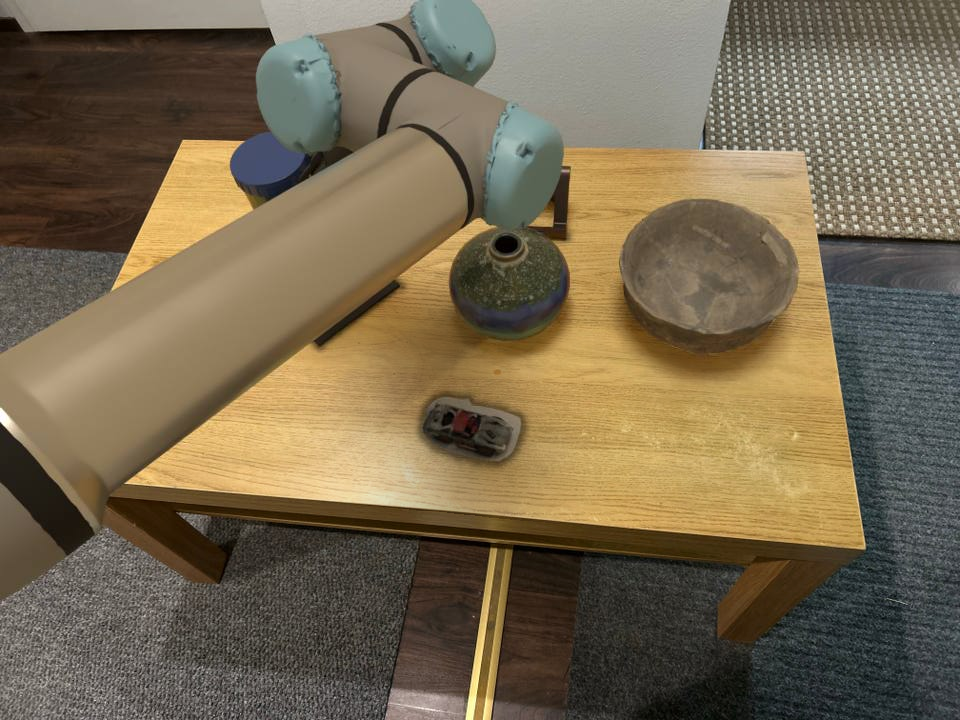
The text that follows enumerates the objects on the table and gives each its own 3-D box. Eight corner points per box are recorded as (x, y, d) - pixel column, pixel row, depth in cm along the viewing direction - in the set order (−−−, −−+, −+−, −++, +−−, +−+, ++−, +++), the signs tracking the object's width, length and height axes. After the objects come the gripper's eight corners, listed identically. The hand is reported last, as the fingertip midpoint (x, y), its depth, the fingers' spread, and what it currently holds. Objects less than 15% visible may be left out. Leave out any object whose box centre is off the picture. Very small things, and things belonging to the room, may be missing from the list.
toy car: (518, 463, 81) (517, 452, 78) (418, 457, 82) (413, 446, 79) (522, 400, 85) (522, 387, 82) (427, 395, 86) (423, 383, 84)
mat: (319, 346, 92) (318, 344, 91) (270, 296, 97) (269, 294, 96) (400, 286, 96) (399, 283, 95) (349, 241, 101) (348, 238, 101)
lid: (261, 209, 71) (255, 197, 69) (221, 171, 74) (214, 158, 73) (325, 168, 73) (320, 155, 72) (283, 133, 77) (278, 120, 75)
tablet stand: (504, 237, 99) (500, 195, 92) (510, 197, 103) (508, 154, 96) (565, 241, 98) (567, 198, 91) (569, 200, 102) (571, 156, 95)
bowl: (623, 241, 97) (630, 189, 88) (776, 258, 93) (799, 206, 85) (603, 364, 87) (609, 319, 78) (774, 390, 83) (800, 345, 74)
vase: (454, 269, 97) (441, 201, 85) (563, 261, 96) (566, 191, 85) (454, 362, 89) (441, 300, 77) (574, 354, 88) (578, 291, 76)
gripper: (366, 226, 62) (266, 306, 79) (428, 81, 72) (327, 179, 89) (294, 176, 58) (205, 271, 75) (369, 31, 68) (276, 143, 85)
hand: (271, 221), depth 82 cm, fingers closed on jar, 8 cm apart
